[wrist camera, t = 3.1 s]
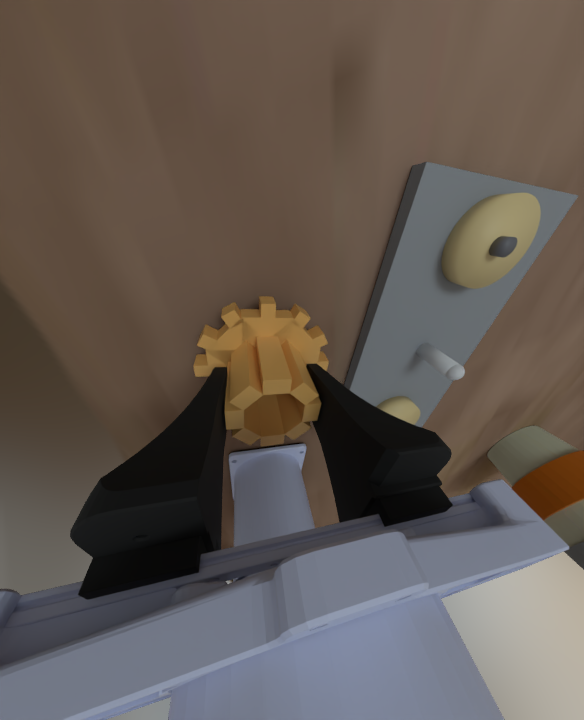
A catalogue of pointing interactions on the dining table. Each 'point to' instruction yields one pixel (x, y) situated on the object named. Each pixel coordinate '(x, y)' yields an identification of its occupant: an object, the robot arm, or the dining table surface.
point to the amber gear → (265, 370)
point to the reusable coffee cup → (546, 481)
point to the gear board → (446, 282)
